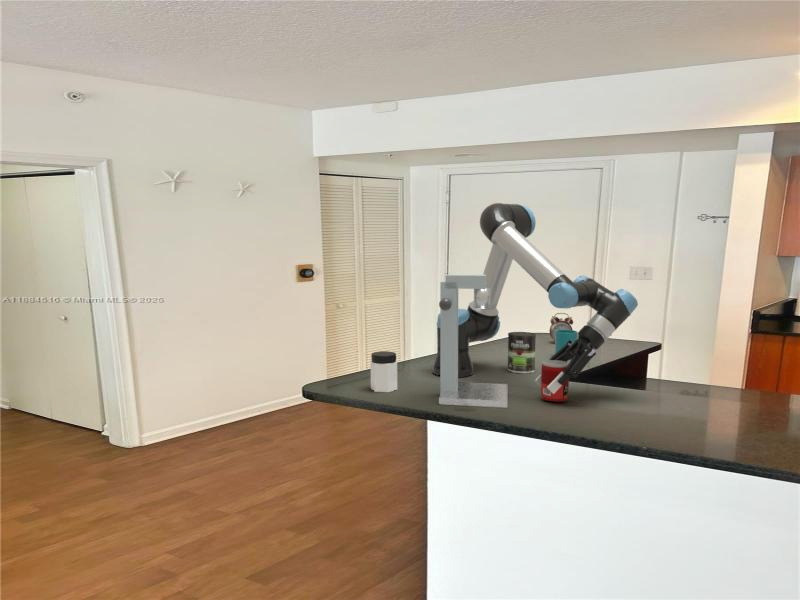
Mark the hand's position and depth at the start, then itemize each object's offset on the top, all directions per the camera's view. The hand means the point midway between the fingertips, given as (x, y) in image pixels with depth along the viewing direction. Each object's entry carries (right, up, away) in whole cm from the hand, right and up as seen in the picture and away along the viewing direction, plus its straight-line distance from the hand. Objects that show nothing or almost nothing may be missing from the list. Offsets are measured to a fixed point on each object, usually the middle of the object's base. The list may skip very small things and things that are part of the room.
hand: (544, 386), depth 163 cm
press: (-21, -4, +4) cm, 21 cm away
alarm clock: (+34, +5, +98) cm, 104 cm away
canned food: (+3, -4, +1) cm, 5 cm away
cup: (+28, +2, +66) cm, 72 cm away
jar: (-49, -3, +16) cm, 51 cm away
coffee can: (+3, -1, +42) cm, 42 cm away
